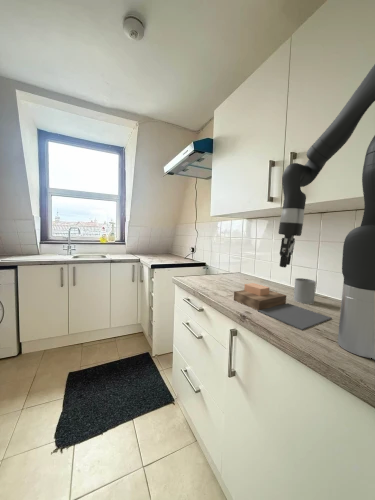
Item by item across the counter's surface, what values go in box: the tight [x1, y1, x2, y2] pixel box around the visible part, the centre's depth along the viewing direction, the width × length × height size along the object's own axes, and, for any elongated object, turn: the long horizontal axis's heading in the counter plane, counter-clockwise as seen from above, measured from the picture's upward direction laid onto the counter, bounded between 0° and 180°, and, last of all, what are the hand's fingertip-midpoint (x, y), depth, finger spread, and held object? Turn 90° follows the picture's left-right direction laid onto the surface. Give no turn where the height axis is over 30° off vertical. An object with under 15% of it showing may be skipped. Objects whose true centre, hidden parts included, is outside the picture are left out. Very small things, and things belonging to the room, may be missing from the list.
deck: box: [233, 289, 287, 311], centre depth 90 cm, size 14×18×4 cm
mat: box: [257, 302, 333, 331], centre depth 76 cm, size 17×20×1 cm
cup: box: [293, 277, 317, 305], centre depth 94 cm, size 8×8×10 cm
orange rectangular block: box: [243, 282, 270, 296], centre depth 91 cm, size 9×6×3 cm, turn 31°
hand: (284, 265), depth 74 cm, fingers open, 8 cm apart
